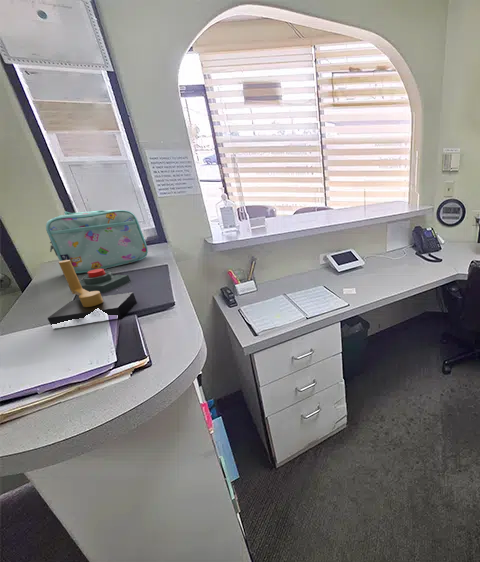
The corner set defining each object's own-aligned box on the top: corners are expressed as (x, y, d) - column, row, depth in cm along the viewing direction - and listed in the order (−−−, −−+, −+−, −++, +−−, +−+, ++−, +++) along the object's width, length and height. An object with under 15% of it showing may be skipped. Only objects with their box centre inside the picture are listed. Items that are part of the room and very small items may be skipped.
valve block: (53, 329, 73) (47, 318, 72) (76, 311, 82) (71, 300, 81) (122, 318, 77) (117, 307, 76) (137, 302, 86) (133, 292, 85)
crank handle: (69, 298, 82) (52, 262, 78) (87, 293, 85) (72, 258, 81) (86, 308, 76) (69, 270, 72) (106, 302, 79) (90, 264, 75)
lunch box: (62, 279, 106) (33, 217, 98) (60, 272, 112) (33, 213, 104) (153, 259, 123) (135, 205, 115) (146, 255, 130) (129, 203, 122)
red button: (85, 278, 95) (83, 273, 95) (98, 273, 99) (95, 268, 98) (97, 278, 95) (95, 273, 94) (109, 273, 99) (107, 268, 98)
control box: (71, 292, 95) (65, 280, 93) (98, 280, 103) (94, 269, 102) (105, 292, 93) (100, 280, 92) (130, 281, 102) (126, 269, 100)
